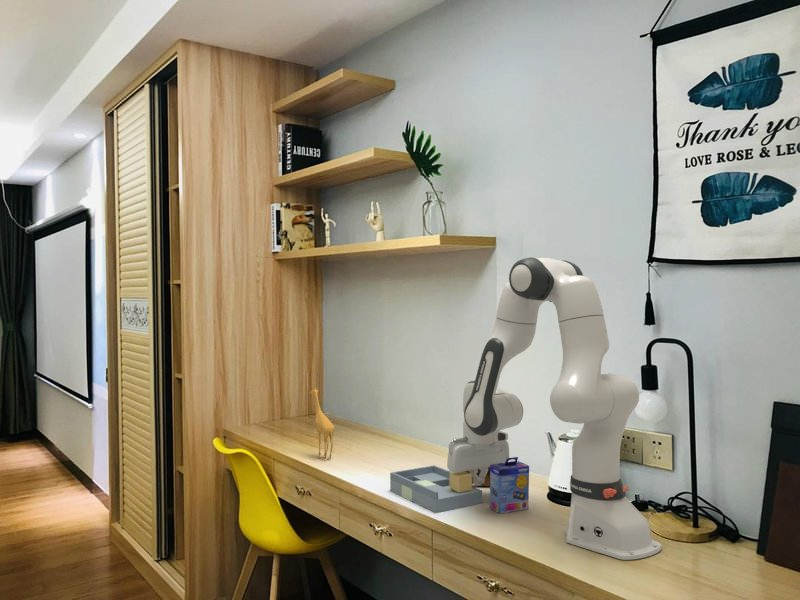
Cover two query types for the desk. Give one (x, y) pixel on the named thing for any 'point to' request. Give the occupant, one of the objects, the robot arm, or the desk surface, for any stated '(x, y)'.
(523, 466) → the ink cartridge box
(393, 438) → the desk surface
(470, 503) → the tray
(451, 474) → the block
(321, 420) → the giraffe
